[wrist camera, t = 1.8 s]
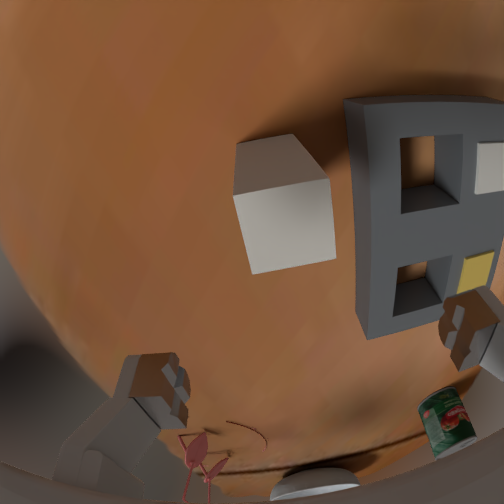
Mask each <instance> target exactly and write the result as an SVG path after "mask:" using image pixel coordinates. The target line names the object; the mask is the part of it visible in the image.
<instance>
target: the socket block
mask: <svg viewBox="0 0 504 504" xmlns="http://www.w3.org/2000/svg"><path fill="white" fill-rule="evenodd" d="M343 104H344V111H345V119H346V127H347V135H348V144H349V154H350V165H351V176H352V189H353V205H354V224H355V254H356V310H355V311H356V314H357V316H358V319H359V321H360V324H361V326H362V329H363V331H364V334H365V336H366V339H367V340H370V339H374V338H378V337H381V336H385V335H389V334H393V333H396V332H400V331H404V330H407V329H411V328H414V327H418V326H421V325H424V324H428V323H431V322H434V321H437V320H440V317H441V316H442V315H443V314H444V312H445V310H444V309H443V304H444V301H445V299H446V298H447V297H449V296H452V295H455V294H458V293H461V292H464V291H467V290H471V289H474V288H477V287H479V286H482V285H485V286H487V287H488V288H489V289H490V287H491V283H492V280H493V276H494V273H495V269H496V266H497V262H498V258H499V254H500V250H501V246H502V241H503V237H504V102H503V101H499V100H495V99H492V98H488V97H478V96H459V95H399V96H379V97H364V98H352V99H343ZM420 136H434V138H435V173H434V185H427V186H420V187H413V188H406V189H401V159H400V138H408V137H420ZM424 261H427V268H426V274H425V278H421V279H417V280H414V281H410V282H405V283H401V284H397V285H396V281H397V271H398V268H399V267H403V266H407V265H412V264H416V263H420V262H424Z"/></svg>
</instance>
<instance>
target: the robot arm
mask: <svg viewBox="0 0 504 504" xmlns="http://www.w3.org/2000/svg"><path fill="white" fill-rule="evenodd" d="M443 309H444V310H445V312H444V314H443V315H442V316H441V317H440V320H439V325H438V329H439V336H440V339H441V341H442V343H443V345H444V346H445V347H447V348H449V349H451V354H450V357H451V359H452V361H453V362H454V364H455V366H456V368H457V370H458V372H460V371H463V370H465V369H468V368H470V367H473V366H475V365H478V364H480V366H481V367H483V368H484V369H486V370H487V371H488V372H490V373H491V374H493V375H494V376H495V377H497V378H499V379H500V380H501V381H502V382H504V306H503V304H502V303H501V302H500V301H499V299H498V298H497V297H496V296H495V295H494V294H493V292H492V291H491V290H490V289H489V288H488V287H487V286H485V285H482V286H479V287H477V288H474V289H471V290H467V291H464V292H461V293H458V294H455V295H452V296H449V297H447V298H446V299H445V301H444V304H443ZM190 392H191V388H190V380H189V377H188V374H187V372H186V370H185V369H184V368H182V367H180V366H179V358H178V357H177V355H176V353H173V352H170V353H155V354H142V355H128V356H127V357H126V358H125V360H124V363H123V366H122V370H121V373H120V376H119V379H118V382H117V386H116V389H115V392H114V396H113V398H108V399H107V400H106V401H105V402H104V403H103V404H102V405H101V406H100V407H99V408H98V409H97V410H96V411H95V412H94V413H93V414H92V415H91V416H90V417H89V418H88V419H87V420H86V421H85V422H84V423H83V424H82V425H81V426H80V427H79V428H78V429H77V430H76V431H75V432H74V433H73V434H72V435H71V436H70V437H69V438H68V439H67V440H66V441H65V442H64V443H63V444H62V446H61V450H60V453H59V456H58V460H57V464H56V467H55V471H54V474H53V478H52V480H51V479H48V478H44V477H42V476H39V475H35V474H33V473H30V472H27V471H24V470H22V469H19V468H16V467H14V466H11V465H8V464H6V463H4V462H1V461H0V504H217V503H182V502H167V501H156V500H147V499H143V493H144V483H143V482H142V481H141V480H140V479H138V478H137V477H135V476H133V475H132V474H131V472H132V471H133V469H134V468H135V466H136V465H137V464H138V462H139V461H140V459H141V458H142V457H143V455H144V454H145V453H146V451H147V450H148V448H149V447H150V446H151V444H152V443H153V442H154V440H155V439H156V437H157V436H158V435H159V433H160V432H161V430H160V429H181V428H187V419H188V408H187V407H186V406H185V403H186V402H187V401H188V399H189V398H190ZM218 504H504V428H502V429H500V430H499V431H497V432H495V433H493V434H491V435H490V436H488V437H486V438H484V439H482V440H480V441H478V442H476V443H474V444H472V445H470V446H468V447H466V448H464V449H462V450H459V451H457V452H455V453H453V454H451V455H448V456H446V457H444V458H441V459H439V460H436V461H434V462H432V463H429V464H426V465H424V466H421V467H418V468H416V469H413V470H410V471H407V472H404V473H402V474H398V475H395V476H392V477H389V478H385V479H383V480H379V481H375V482H371V483H368V484H364V485H360V486H356V487H352V488H348V489H343V490H338V491H334V492H329V493H323V494H318V495H312V496H306V497H299V498H292V499H283V500H274V501H263V502H250V503H218Z"/></svg>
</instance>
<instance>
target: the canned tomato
mask: <svg viewBox="0 0 504 504" xmlns="http://www.w3.org/2000/svg"><path fill="white" fill-rule="evenodd" d="M418 412H419V414H420V417H421V419H422V422H423V425H424V427H425V430H426V433H427V436H428V439H429V441H430V444H431V448H432V450H433V453H434V456H435V460H439V459H441V458H444V457H446V456H448V455H451V454H453V453H455V452H457V451H459V450H462V449H464V448H466V447H468V446H470V445H471V444H473V443H474V442H475V441H476V439H477V436H476V434H475V431H474V429H473V427H472V424H471V422H470V419H469V417H468V415H467V413H466V410H465V408H464V406H463V403H462V402H461V399H460V397H459V395H458V393H457V391H456V388H455V387H446V388H443V389H441V390H438V391H436V392H434V393H433V394H431V395H430V396H428V397H427V398H425V399H424V400H423V401H422V402H421V403H420V404H419V406H418Z"/></svg>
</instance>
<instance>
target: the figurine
mask: <svg viewBox="0 0 504 504" xmlns="http://www.w3.org/2000/svg"><path fill="white" fill-rule="evenodd" d="M226 422H228V421H226ZM229 423H232V422H229ZM233 424H237V423H233ZM237 425H240V424H237ZM240 426H243V425H240ZM244 427H246V426H244ZM247 428H248V427H247ZM251 428H252V427H251ZM251 428H249V429H251ZM254 429H255V428H254ZM251 430H253V429H251ZM254 431H255V430H254ZM255 432H257V431H255ZM257 433H258V432H257ZM259 434H260V433H259ZM260 435H261V434H260ZM261 436H262V435H261ZM177 437H178V439H179V441H180V443H181V445H182V447H183V449H184V451H185V463H186V465H187V466H188V468H190V472H189V475H188V479H187V483H186V487H185V490H184V494H183V498H182V499H183V501H184V502H185V503H188V502H187V501H186V500H185V496H186V492H187V488H188V484H189V481H190V477H191V473H192V469H193V468H195V467H198V465H200V467H201V469H202V471H203V473H204V474H205V476H206V477H205V479H204V482H205V483H206V482H209V488H208V503H210V480H212V479H213V478H214V477H215V476H216V475H217V474H218V473H219V472H220V470H221V469H222V468H223V466H224V465H225V463H226V462H227V460H228V459H229V458H225V459H223V460H221V461H220V462H219V463H217V464H216V465H215V466H214V467H213V468H212V469H211V470H210V472H209V473H208V474H207V472H206V470H205V469H204V467H203V465H202V463H201V462H202V461H203V460H204V458H205V456H206V454H207V449H208V443H207V436H206V433H205V432H204V433H202V434H201V435H199V436H198V437H197V438H195V439H194V440H193V441H192V442H191V443H190V445H189V446H188V447H187V448H186V446H185V444H184V442H183V440H182V438H181V436H180V435H179V436H177ZM262 437H263V436H262ZM263 438H264V437H263ZM264 439H265V438H264ZM267 439H268V438H267ZM265 441H266V440H265ZM265 448H266V447H265ZM264 450H265V449H264ZM264 450H263V451H264Z"/></svg>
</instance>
